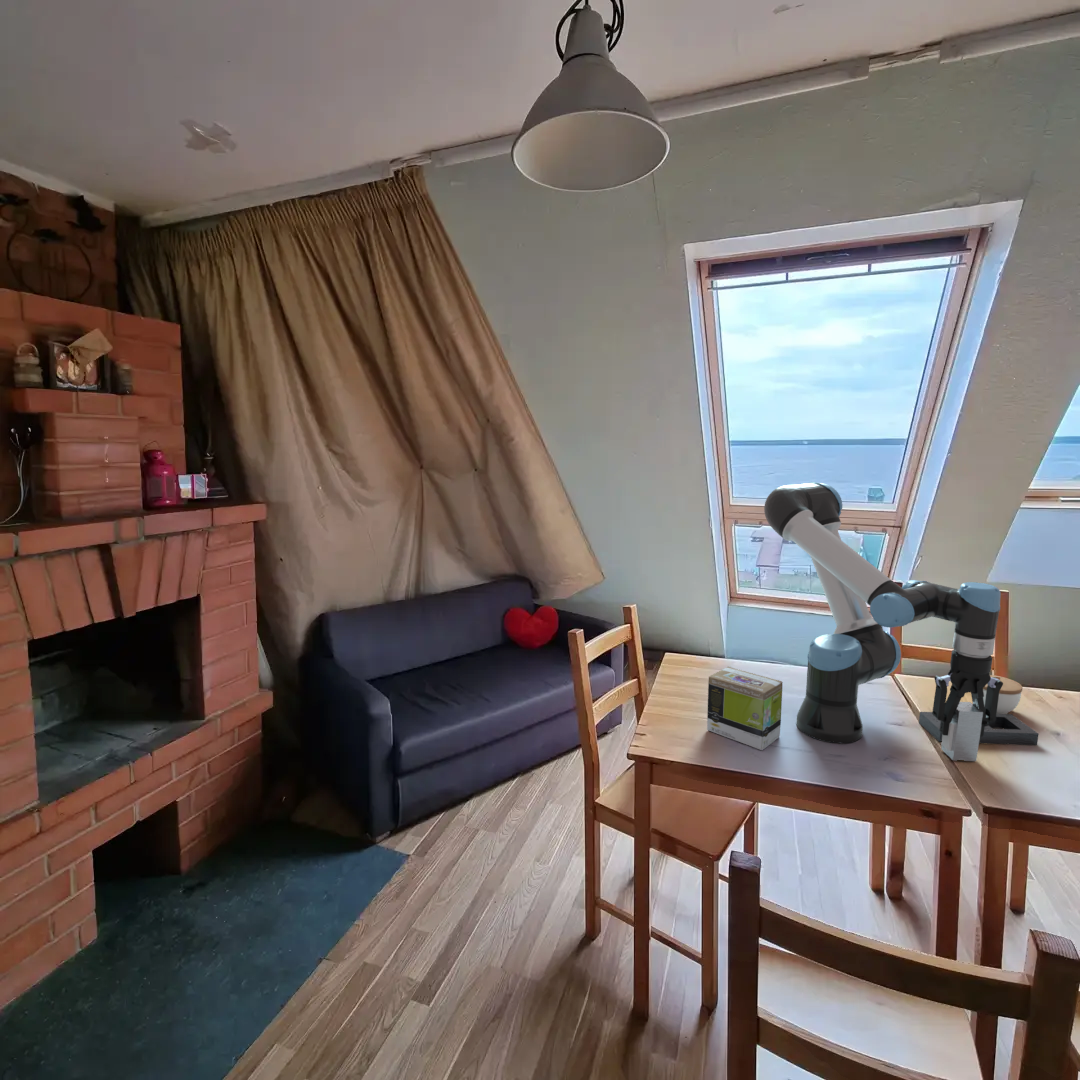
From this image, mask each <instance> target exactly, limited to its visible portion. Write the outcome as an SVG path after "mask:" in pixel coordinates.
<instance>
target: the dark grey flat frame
mask: <svg viewBox="0 0 1080 1080" xmlns="http://www.w3.org/2000/svg"><path fill="white" fill-rule="evenodd" d="M940 723H941V721H940V720H938V719H937V718H936V717H935V716H934V715H933V714H932V711H920V712H919V718H918V724H920V725H921V726H922V727H923V728H924V729H925V730H926V731H927V732H928V733H929V734H930V735H931V736H932V737H933V738H934V739H936V741H938V743H941V742H940V741H942V736H943V734H942V733H940ZM988 723H989V725H988V726H985V728H984V735H983V737H980V739H979V744H984V743H987V744H988V745H990V744H991V745H1017V746H1018V745H1019V746H1038V742H1039V741H1038V740H1039V735H1040V734H1039V733H1038V732H1037V731H1036V730H1034V729H1033V728H1032V727H1030V726H1029V725H1027V724H1026V723H1024V722H1023V721H1022V720H1020V719H1019V718H1017V717H1016V716H1015V715H1013V714H1011V713H1010V714H1009V713H1007V714H996V720H995V722H988Z"/></svg>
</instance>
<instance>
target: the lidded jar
mask: <svg viewBox="0 0 1080 1080" xmlns="http://www.w3.org/2000/svg"><path fill="white" fill-rule="evenodd" d="M990 677H995V678H997V679H998V680H1000V681H1001V682H1003V686H1002V687H1001V689H1000V691H999V698H998V706H997V713H996V714H1009V713H1011V712H1012V711H1013V710H1015V709H1016V708H1017V706H1018V705H1019V703H1020V701H1021V696H1022V692H1023V686H1022V684H1020V683H1019V682H1017V681H1016V680H1013V679H1011V678H1007V677H1005V676H1004V677H1003V676H999V675H993V674H990ZM987 686H988V685H987V684H986V685H985V686H984V687H983V693H984V697H983V700H984V707H985V700H986V692H987Z"/></svg>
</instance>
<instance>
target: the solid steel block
mask: <svg viewBox="0 0 1080 1080" xmlns="http://www.w3.org/2000/svg"><path fill="white" fill-rule="evenodd" d="M982 717H983V712H982V711H981V710H980V709H978V708H977V707H975V706H974V705H973V702H970V701H960V702H959V705H958V707H957V709H956V712H955V714H954V716H953V719H952V721H951V722H952V723H954V724H955V725H954V732H953V740H952V747H951V751H948V750H947V749H946V748H945V747H944V746H942V745H941V749H940V750H942V751H943V752H944V754H946V755H947V756H948V757H949V758H950V759H951V760H952V761H957V760H964V761H963V762H977V759H978V751H979V746H978V745H980V743H979V738H980V731H981V724H982Z"/></svg>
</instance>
